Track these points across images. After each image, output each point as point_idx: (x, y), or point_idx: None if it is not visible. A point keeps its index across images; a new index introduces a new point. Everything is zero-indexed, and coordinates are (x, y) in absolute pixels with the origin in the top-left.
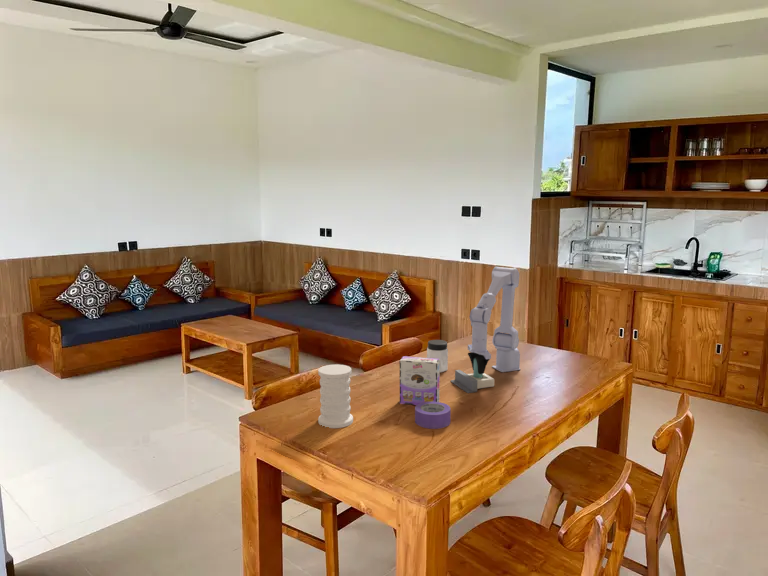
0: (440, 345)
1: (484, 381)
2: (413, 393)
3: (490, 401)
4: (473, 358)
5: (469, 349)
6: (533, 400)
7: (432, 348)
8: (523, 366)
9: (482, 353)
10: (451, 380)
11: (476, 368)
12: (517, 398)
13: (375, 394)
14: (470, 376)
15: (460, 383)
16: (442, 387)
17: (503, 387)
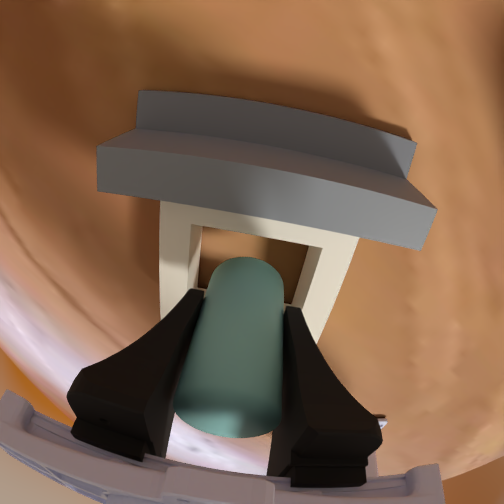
0: None
1: (161, 267)
2: None
3: (11, 145)
4: (292, 404)
5: (410, 475)
6: (9, 299)
7: None
8: None
9: (32, 454)
10: (409, 145)
11: (212, 314)
12: (24, 272)
13: None
14: (213, 206)
15: (318, 152)
16: (348, 6)
17: (151, 323)
